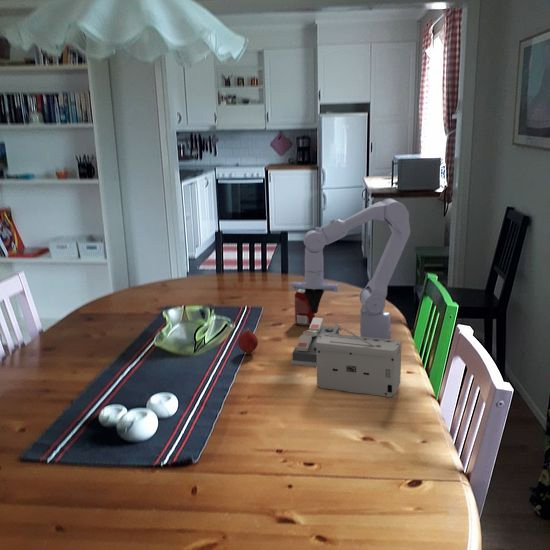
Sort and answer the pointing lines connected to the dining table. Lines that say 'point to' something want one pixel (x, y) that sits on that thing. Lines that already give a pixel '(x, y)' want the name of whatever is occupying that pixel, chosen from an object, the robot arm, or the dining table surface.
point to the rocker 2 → (316, 324)
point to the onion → (248, 342)
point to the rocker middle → (310, 333)
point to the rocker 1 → (304, 343)
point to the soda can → (302, 309)
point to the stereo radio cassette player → (358, 363)
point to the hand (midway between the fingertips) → (314, 312)
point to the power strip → (311, 349)
